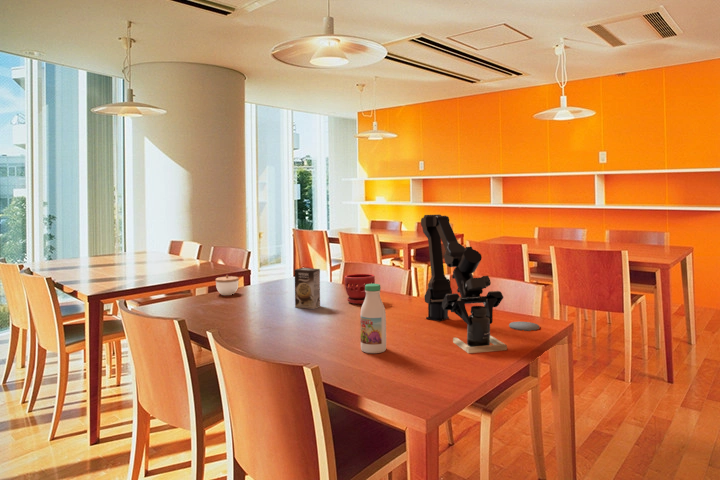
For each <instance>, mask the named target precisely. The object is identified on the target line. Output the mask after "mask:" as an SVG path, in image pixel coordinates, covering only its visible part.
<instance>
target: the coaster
mask: <svg viewBox="0 0 720 480" xmlns="http://www.w3.org/2000/svg"><path fill="white" fill-rule="evenodd" d="M508 327H509V328H510V329H513V330H516V331H522V330H524V331H523V332H532V331H531V330H534V331H537V329H538V330H540V325H539V324H537V323H536V322H535V323H534V322H530V321H512V322H510V323H509V324H508Z"/></svg>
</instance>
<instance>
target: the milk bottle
mask: <svg viewBox="0 0 720 480" xmlns="http://www.w3.org/2000/svg"><path fill="white" fill-rule="evenodd" d="M381 287H382V286H381V284H379V283H375V284H372V283H371V284H366V285H365V292H366V297H365V300H364V303H363V304H361V308H360V316H359V317H360V329H359V330H360V350H361V351H362V352H363V353H366V354H380V353H384V352H385V351H386V349H387V317H386V316H387V315H386V313H387V312H386V308H385V305H384V302H383V301H382V298H381V289H382V288H381Z"/></svg>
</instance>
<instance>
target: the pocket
mask: <svg viewBox="0 0 720 480" xmlns="http://www.w3.org/2000/svg"><path fill="white" fill-rule="evenodd" d="M452 343H453V344H454V345H456V346H458V347H459V349H462V350H463V351H464V352H466V353H467V354H479V353H488V352H499V351H508V345H507V344H505V343H504V342H503V341H501V340H500V339H498V338H496V337H495V336H492V335H491V334H490V345H486V346H475V347H470V346H468V344H467V342H466V343H465V342H464V341H463V340H461V339H460V338H458V337H452Z"/></svg>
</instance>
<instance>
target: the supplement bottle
mask: <svg viewBox="0 0 720 480" xmlns="http://www.w3.org/2000/svg"><path fill="white" fill-rule="evenodd" d="M486 314H487V307H484V305H473V306H470V314H469V315H468V316H469V318H470V322H471V325H470V326H469V325H468V324H467V323H466V325H467V327H466V331H467V332H466V344H467V345H468V346H470V347H475V346H486V345H491V342H490V335H491V324H490V318H489V317H488V316H487V315H486Z"/></svg>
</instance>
